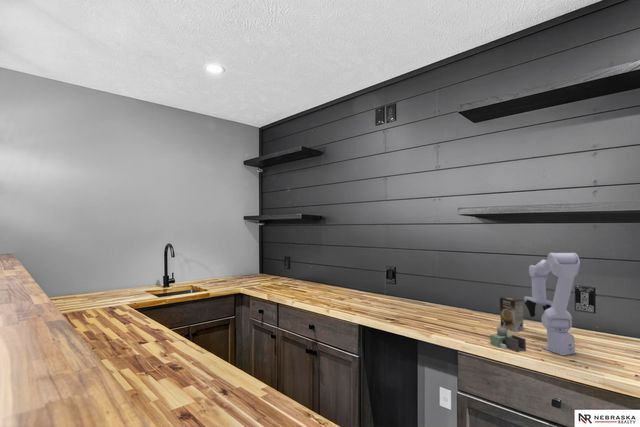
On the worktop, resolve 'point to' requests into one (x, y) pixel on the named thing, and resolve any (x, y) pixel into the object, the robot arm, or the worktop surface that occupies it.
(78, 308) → the worktop surface
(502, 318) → the coffee box
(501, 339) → the green base with knob
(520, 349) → the chute
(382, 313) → the worktop surface
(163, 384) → the worktop surface
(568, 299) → the robot arm
